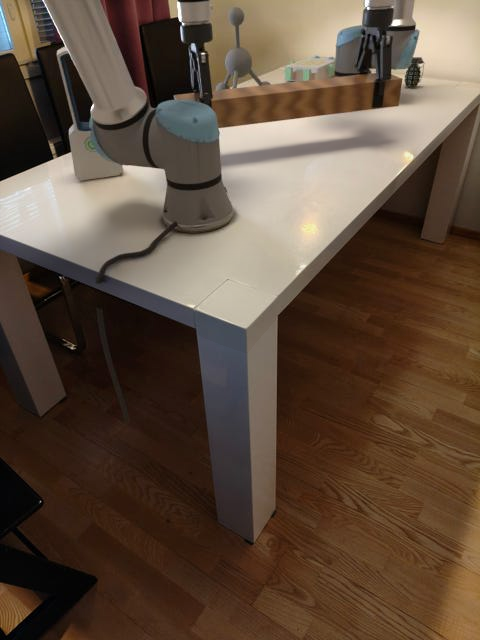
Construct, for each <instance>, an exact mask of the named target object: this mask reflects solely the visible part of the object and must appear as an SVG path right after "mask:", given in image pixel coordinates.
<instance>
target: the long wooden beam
mask: <svg viewBox="0 0 480 640" xmlns="http://www.w3.org/2000/svg"><path fill="white" fill-rule="evenodd" d="M376 79H377V76H376V72H371V73H370V74H369V73H368V74H361V75H352V76H343V77H334V76H333V77H331V78H325V79H316V80H307V81H298V82H297V81H288V82H280V83H272V84H271V83H270V85H261V86H259V85H253V86H243V87H237V88H234V89H232V88H230V89H225V90H216V89H215V90H212V95H213V99H211V102H212V110H213V111H214V112H215V114H216V116H217V122H218V129H225V128H233V127H241V126H249V125H257V124H265V123H266V124H267V123H272V122H273V123H274V122H282V121H288V120H289V121H290V120H297V119H298V120H299V119H305V118H314V117H321V116H330V115H337V114H345V113H353V112H361V111H369V110H370V111H371V110H378V109H386V108H394V107H400V99H401V93H402V87H403V86H402V85H403V78H402V77H400V76H397V75H394V74H392V73H391V79H390V80H387V81H386V82H385V90H384V98H383V106H382V107H377V108H372V102H373V93H374V84H375V82H374V80H376ZM205 94H208V93H205ZM200 97H201V96H200V92H198V93H193V92H189V93H181V94H174V95H173V100H191V101H197V102H200V101H198V98H200Z"/></svg>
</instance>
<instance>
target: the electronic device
mask: <svg viewBox="0 0 480 640" xmlns="http://www.w3.org/2000/svg"><path fill="white" fill-rule="evenodd" d="M67 57H71V56H70V54H69V52H68V50H67V48H66V46H62V47H61V48H59V49H58V50H56V58H57V63H58V67H59V71H60V75H61V78H62V82H63V87H64V91H65V94H66V95H65V96H66V99H67V102H68V106H69V112H70V115H71V118H72V123H73V124H72V125H71V126H70V127H69V129H68V139H69V145H70V152H71V153H70V154H71V157H72V158H71V160H72V165H73V171H74V177H75V178H77V179H78V180H79V181H89V180H96V179H102V178H108V177H116V176H120V175H122V172H123V171H124V167H123V165H120V164H117V163H113V162H109V161H107V160H106V159H104V158H103V157H101V156H100V155H99V153H98V152H97V151H96V149H95V148H94V146H93V144H92V141H91V138H90V133H91V132H92V130H91V129H90V128H89V122H90V121H80V117H79V112H78V108H77V105H76V101H75V96H74V93H73V89H72V84H71V80H70V79H71V78H70V75H69V70H68V67H67V62H66V58H67ZM91 103H92V105H93V101H92V100H91Z"/></svg>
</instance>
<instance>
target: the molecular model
mask: <svg viewBox="0 0 480 640" xmlns="http://www.w3.org/2000/svg"><path fill="white" fill-rule="evenodd" d="M227 18H228V22H229V24H230V25H232V26H234V41H235V42H234V43H235V44H234V45H235V47H233V48H232V49H230V50H229V51H228V52H227V54H226V56H225V59H224V66H225V70H226V71H227V74H226V77H225V79H224V81H221V82H219V83H218V84H216V86H215V91H216V90H225V89H234V88H238V80H239V79H241V78H244V77H246V76H247V75H248V74H249V75H250V77H251V78H252V79H253V80H254V81H255V83H257V86H261V85H270V84H271V83H270V81H266V80H265V81H264V80H263V81H262V80H261V79H260V78H259V77H258V76H257V74H256V73H255V72H254V71H253V70H252V68H253V67H252V66H253V59H252V56H251V54H250V52H249V51H248V50H247V49H246V48H244V47H241V45H240V44H241V43H240V41H241V40H240V25H242V24H243V22H244V20H245V13H244V11H243V9H242V8H240V7H237V6H234V7H232V8H230V10H229V11H228V15H227ZM231 76H232V77H233V78H232V79H233V80H232V86H231V88H230V85H229V81H230V79H231Z"/></svg>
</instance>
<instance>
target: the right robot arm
mask: <svg viewBox="0 0 480 640" xmlns="http://www.w3.org/2000/svg"><path fill="white" fill-rule="evenodd" d="M415 1H416V0H363V7H365V8H364V9H363V11H362V21H361V24H360V25H354V26H353V25H352V26H349V27H346V28H345V27H344V28H343V29H341V30H339V31H338V33H337V36H336V44H335V56H334V58H335V74H334V76H333V78H334V77H343V76H352V75H361V74H370V73H372V71H371V70H375V73H376V76H377V79H376V80H374V82H375V84H374V93H373V102H372V108H377V107H382V106H383V98H384V90H385V82H386V81H387V80H390V79H391V74H392V70H394V71H396V70H408V69H407V68H408V67H409V66H410V64H411V61H412V59H413V57H414V55H415V52H416V48H417V46H418V41H419V36H420V33H421V32H420V31H421V30H419V29H417V27H416V26H417V22H416V21H415V20H414V17H413V14H414V8H415Z"/></svg>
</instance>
